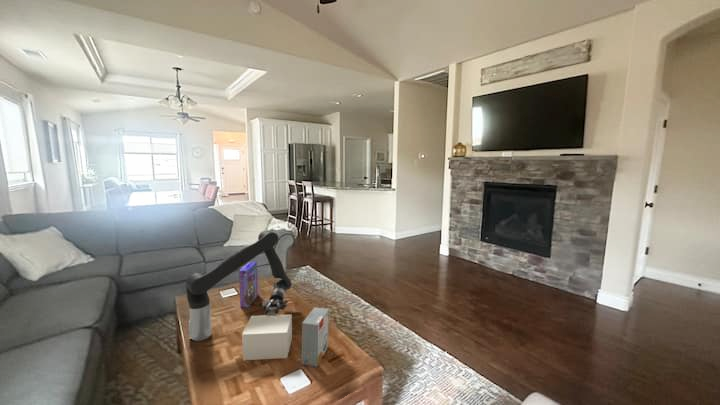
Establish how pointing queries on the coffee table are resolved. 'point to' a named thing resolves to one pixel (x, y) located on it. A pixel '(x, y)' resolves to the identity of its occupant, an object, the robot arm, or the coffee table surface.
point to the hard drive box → (314, 336)
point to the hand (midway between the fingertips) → (271, 312)
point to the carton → (267, 345)
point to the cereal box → (248, 284)
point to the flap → (267, 324)
